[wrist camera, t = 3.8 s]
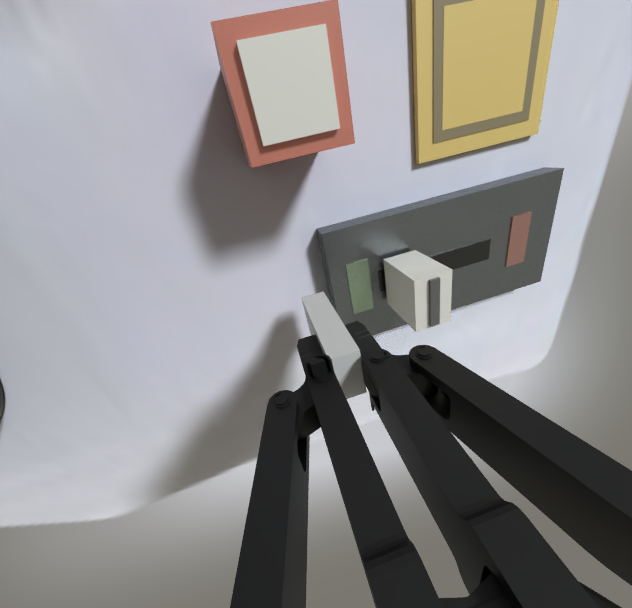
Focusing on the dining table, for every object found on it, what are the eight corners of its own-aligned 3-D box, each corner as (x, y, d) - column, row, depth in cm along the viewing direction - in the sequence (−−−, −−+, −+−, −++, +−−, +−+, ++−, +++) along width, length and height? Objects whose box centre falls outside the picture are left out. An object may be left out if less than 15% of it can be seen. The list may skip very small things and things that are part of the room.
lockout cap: (248, 164, 17) (252, 168, 12) (220, 69, 15) (210, 18, 9) (320, 147, 17) (357, 142, 12) (304, 52, 15) (340, -6, 10)
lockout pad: (415, 163, 19) (419, 163, 19) (410, -27, 15) (415, -32, 14) (532, 133, 20) (538, 133, 20) (560, -53, 16) (569, -59, 15)
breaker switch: (387, 303, 21) (417, 333, 18) (383, 259, 20) (416, 282, 16) (416, 294, 22) (452, 322, 18) (415, 249, 20) (454, 270, 16)
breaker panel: (337, 334, 24) (343, 344, 23) (316, 228, 20) (322, 234, 18) (525, 275, 26) (541, 281, 25) (544, 167, 22) (565, 168, 20)
